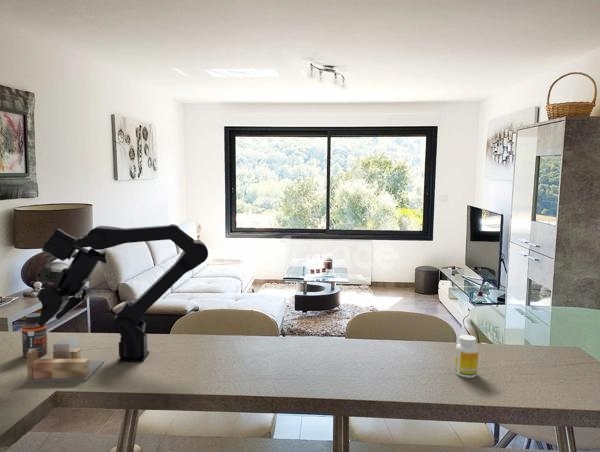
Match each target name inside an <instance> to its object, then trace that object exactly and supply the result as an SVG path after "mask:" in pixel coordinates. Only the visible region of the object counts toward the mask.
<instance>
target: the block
mask: <svg viewBox="0 0 600 452" xmlns="http://www.w3.org/2000/svg"><path fill="white" fill-rule="evenodd" d="M89 361H90V359H89V358H82V357H81V347H79V348H76V349H75V350H74V351H73V352H72V359H54V350H53V351H52V358H39V357H38V352H37V349H32V350H31V351H29V352H28V353H27V357H26V364H27V365H26V367H27V380H28V379H38V378H86V377H87V376H88V375H89Z"/></svg>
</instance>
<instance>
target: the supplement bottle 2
mask: <svg viewBox="0 0 600 452" xmlns="http://www.w3.org/2000/svg"><path fill="white" fill-rule="evenodd" d="M458 341H459V343H457V344H456V346H455V356H454V357H455V358H454V359H455V360H454V373H455V374H456V375H457V376H459V377H463V378H467V379H472V378H475V377H476V376H477V375H478V362H479V347H478V346H477V345H476V344H477V338H476V337H475V336H473V335H469V334H461V335H459V338H458Z"/></svg>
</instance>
